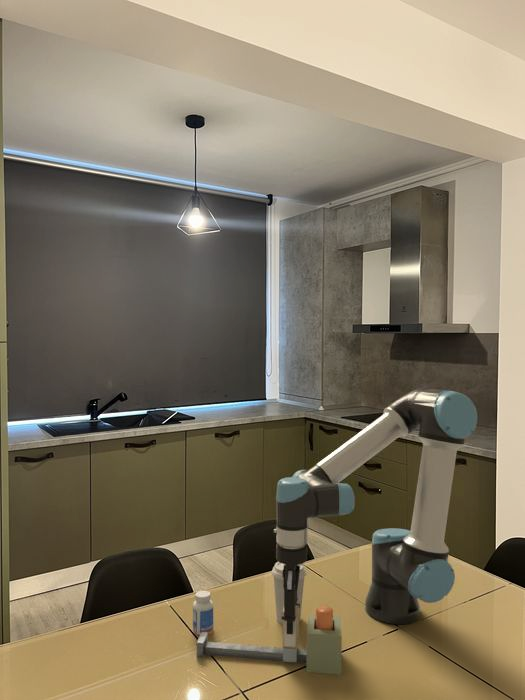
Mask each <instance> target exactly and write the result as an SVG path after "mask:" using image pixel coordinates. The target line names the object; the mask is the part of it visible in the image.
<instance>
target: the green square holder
mask: <svg viewBox="0 0 525 700" xmlns="http://www.w3.org/2000/svg"><path fill="white" fill-rule="evenodd" d="M306 625H307V626H306V650H307V658H306V671H305V672H306V673H315V674H329V675H340V676H341V675H342V641H343V640H342V639H343V638H342V635H343V634H342V616H338V615H337V616H336V615H333V630H320V629H316V614H311V613H309V614H308V615H307V624H306Z"/></svg>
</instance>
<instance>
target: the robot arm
mask: <svg viewBox="0 0 525 700" xmlns="http://www.w3.org/2000/svg"><path fill="white" fill-rule="evenodd" d="M477 423H478V412H477V407H476V405H475V404H474V402H472V400H471V399H470V398H469V396H467V395H465V394H463V393H461V392H458V391H453V390H448V389H447V390H446V389H437V388H436V389H435V388H430V387H420V388H417V389H414V390H411V391H410V392H407V393H406V394H404V395H402V396H400V397H399V398H398V399H396V400H395V401H394V402H392V403H390V404H389V405H388V406H387V407H385V408H384V409H383V412H382V415H381V416H379V417H378V418H376V419H375V420H374V421H372V422H371V423H370V424H368V425H367V426H366V427H365V428H363V429H362V430H360V431H359V432H358V433H356V434H355V435H354V436H352V437H351V438H350V439H349V440H347V441H345V442H344V443H343V444H342V445H340V446H339V447H338V448H336V449H335V450H333V451H332V452H331V453H330V454H328V455H327V456H326V457H324V458H323V459H321V460H320V461H319V462H317V463H316V464H315V465H313V466H312V467H311V468H309V469H300V470H298V471H296V472H295V473H294V474H293V475H292V476H291V477H289V476H288V477H284V478H281V479H279V480H278V482H277V486H276V496H275V501H276V502H275V503H276V504H275V505H276V506H275V507H276V508H275V509H276V528H274V529H273V533H275V534H276V536H275V537H276V545H275V559H276V561H277V562H280V563H283V564H285V565H284V569H283V578H284V580H283V588H284V616H282V617H281V619H282V620H284V646H291V647H296V617H295V605H299V608H300V604H297V600H298V598H297V589H298V583H299V573H300V566H298V564H303V565H304V563H305V562H307V560H308V545H307V544H308V538H309V537H308V536H309V535H308V533H309V532H308V531H309V530H308V528H309V527H308V519H313V518H324V517H325V518H326V517H334V516H335V517H337V516H338V517H340V516H344V515H349V514H351V513H352V512H353V511H354V509H355V505H356V504H355V503H356V501H355V500H356V498H355V493H354V491H353V490H354V489H353V488H352V486H351V485H349V484H348V483H340V482H342V481H343V480H344V479H346V478H347V477H348V476H349V475H351V474H352V473H354V472H355V471H357V469H359V468H360V467H361V466H363V465H364V464H365V463H366V462H367V461H369V460H370V459H372V458H373V457H375V456H376V455H377V454H379V453H380V452H381V451H383V450H384V449H385V448H386V447H388V446H389V445H390V444H392V443H393V442H395V440H397V439H398V438H399V437H407V436H409V435H410V434H411V433H413V432H415V431H417V430H418V439H419V441H421V443H422V451H421V457H420V464H419V469H418V470H419V472H418V478H417V484H416V490H415V491H416V492H415V497H414V498H415V499H414V505H413V506H414V507H413V512H412V517H411V526H410V529H409V530H408V529H406V528H405V529H404V528H396V527H395V528H394V527H392V528H390V527H389V528H380V529H377V530H375V531H374V532H373V533H372V538H371V539H372V540H371V583H370V587H369V589H368V592H367V595H366V597H365V604H364V605H365V607H364V608H365V612H366V613H367V614H368V616H370V617H372V618H373V619H375V620H377V621H380V622H383V623H385V624H391V625H406V624H411V623H414V622H416V621H417V620H419V618H420V616H421V615H420V614H421V609H420V604H419V600H420V601H421V602H424V603H427V604H431V603H432V604H433V603H437V602H440V601H442V600H444V598H445V597H447V596H448V595H449V593H451V591H452V590H453V586H454V584H455V580H456V579H455V578H456V574H455V569H454V568H453V566H452V565H451V563H449V562H448V560H449V551H450V549H449V547H448V545H447V544H446V542H445V536H446V529H447V520H448V515H449V508H450V500H451V494H452V487H453V486H452V485H453V479H454V473H455V467H456V460H457V452H458V450H459V449H461V448H462V447H464V445H465V440H466V438H467V437H469V436H471V434H472V432H473V433H474V431H475V430H476V427H477ZM418 599H419V600H418Z"/></svg>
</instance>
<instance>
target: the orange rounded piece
mask: <svg viewBox="0 0 525 700" xmlns="http://www.w3.org/2000/svg"><path fill="white" fill-rule="evenodd" d="M315 615H316V629H320V630H333V616H334V610H333V608H332V607H330V606H327V605H321V606H317V607H316V609H315Z"/></svg>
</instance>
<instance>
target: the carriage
mask: <svg viewBox="0 0 525 700" xmlns="http://www.w3.org/2000/svg"><path fill="white" fill-rule="evenodd" d="M283 616H284V608H283ZM295 617H296V647H291V646H284V620H283V625H282V648H283V661H286V662H285V663H293V662H297V649H299V633H300V632H299V631H300V630H299V629H300V626H299V625H300V622H299V605H295Z"/></svg>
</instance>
